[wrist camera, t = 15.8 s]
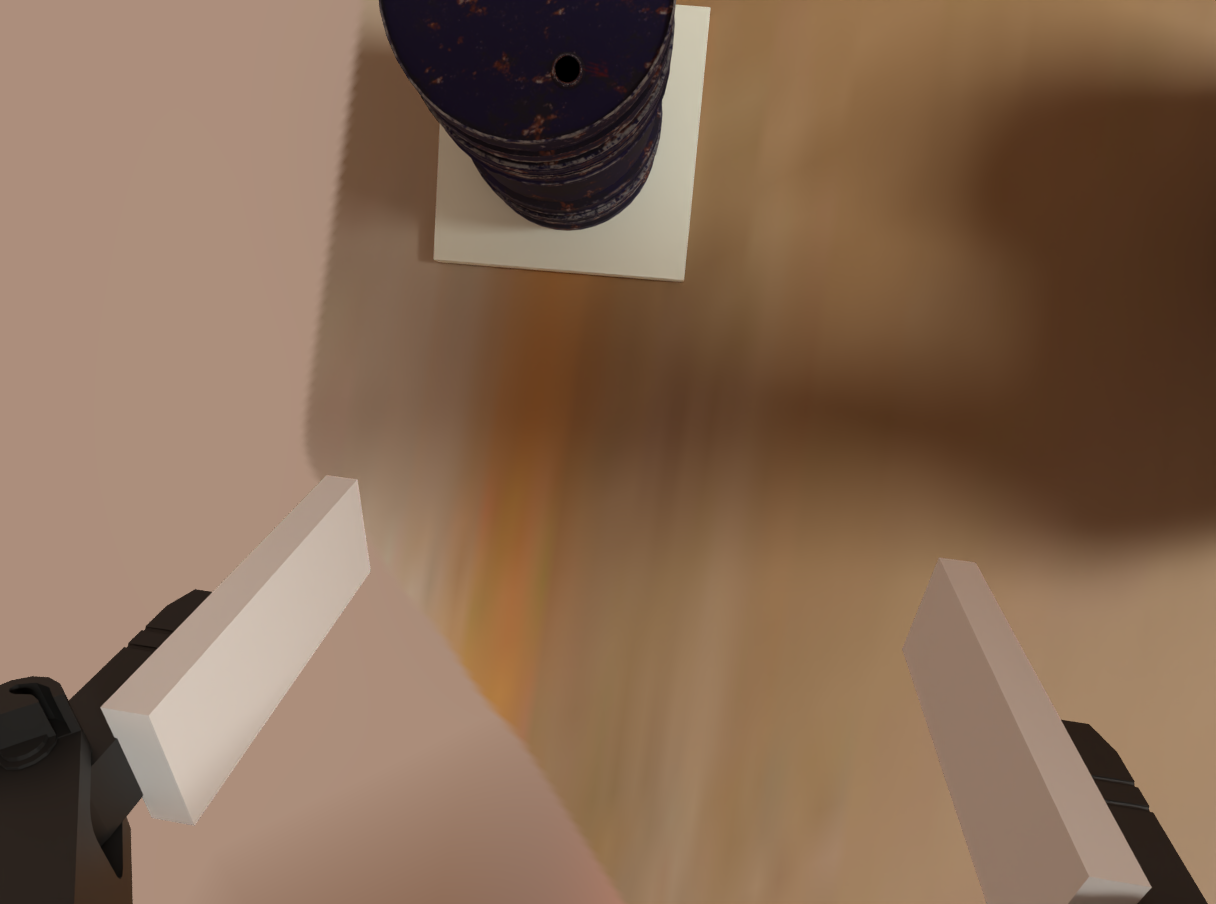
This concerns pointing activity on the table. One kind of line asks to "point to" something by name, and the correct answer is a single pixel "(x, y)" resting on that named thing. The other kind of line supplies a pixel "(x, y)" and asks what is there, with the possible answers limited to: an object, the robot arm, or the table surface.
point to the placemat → (619, 247)
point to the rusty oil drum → (544, 95)
